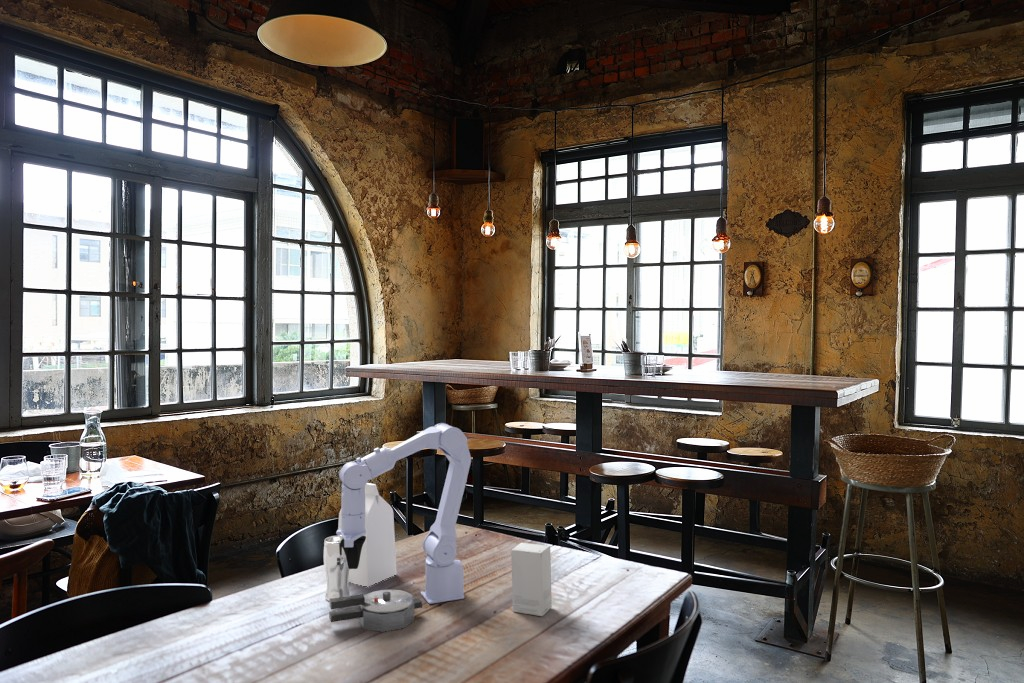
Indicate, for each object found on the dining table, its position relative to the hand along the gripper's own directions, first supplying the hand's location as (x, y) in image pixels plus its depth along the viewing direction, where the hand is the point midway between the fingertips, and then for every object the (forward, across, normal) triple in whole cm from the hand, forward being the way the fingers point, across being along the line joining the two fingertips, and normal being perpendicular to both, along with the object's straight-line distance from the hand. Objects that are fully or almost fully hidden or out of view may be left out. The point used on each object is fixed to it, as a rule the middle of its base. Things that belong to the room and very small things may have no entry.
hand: (353, 568), depth 173 cm
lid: (+6, +8, +5) cm, 11 cm away
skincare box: (+11, +2, +43) cm, 45 cm away
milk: (+11, -23, 0) cm, 26 cm away
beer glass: (+11, -9, -5) cm, 15 cm away
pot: (+10, +7, +6) cm, 14 cm away
